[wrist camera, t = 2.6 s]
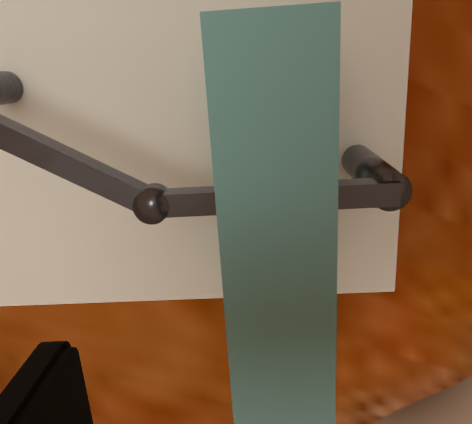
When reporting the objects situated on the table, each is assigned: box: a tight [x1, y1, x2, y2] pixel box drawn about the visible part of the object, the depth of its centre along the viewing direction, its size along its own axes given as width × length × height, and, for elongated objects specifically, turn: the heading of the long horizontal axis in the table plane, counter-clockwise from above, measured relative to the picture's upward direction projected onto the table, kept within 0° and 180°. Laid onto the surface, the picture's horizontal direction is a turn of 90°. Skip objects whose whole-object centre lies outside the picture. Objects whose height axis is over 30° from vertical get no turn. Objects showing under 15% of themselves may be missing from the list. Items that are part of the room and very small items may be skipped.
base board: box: [0, 0, 413, 306], centre depth 29 cm, size 30×24×2 cm
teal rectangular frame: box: [200, 1, 341, 424], centre depth 22 cm, size 6×16×15 cm, turn 4°
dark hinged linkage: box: [0, 71, 412, 225], centre depth 25 cm, size 25×5×8 cm, turn 79°
